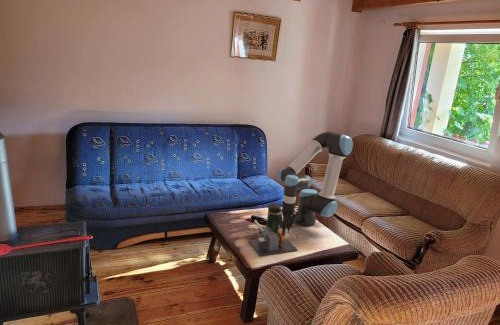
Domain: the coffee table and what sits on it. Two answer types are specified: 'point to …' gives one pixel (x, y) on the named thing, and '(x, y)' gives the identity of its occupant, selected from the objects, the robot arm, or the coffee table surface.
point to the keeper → (259, 227)
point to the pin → (278, 235)
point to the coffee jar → (273, 217)
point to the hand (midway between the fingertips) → (284, 237)
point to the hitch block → (271, 244)
